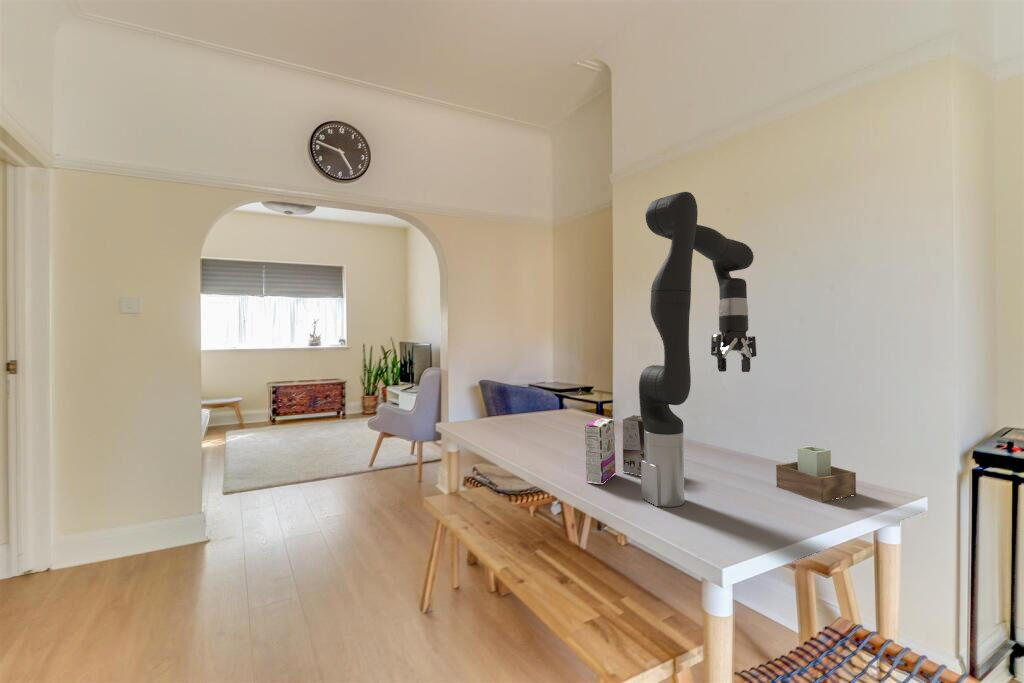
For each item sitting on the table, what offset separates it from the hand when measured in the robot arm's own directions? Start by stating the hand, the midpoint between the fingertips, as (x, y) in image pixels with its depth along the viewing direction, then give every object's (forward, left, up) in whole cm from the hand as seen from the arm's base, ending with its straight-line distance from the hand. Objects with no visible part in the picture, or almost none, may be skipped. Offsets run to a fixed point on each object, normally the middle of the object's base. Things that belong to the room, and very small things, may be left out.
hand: (734, 371), depth 125 cm
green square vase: (+9, -16, -29) cm, 35 cm away
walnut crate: (+9, -16, -30) cm, 35 cm away
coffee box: (-22, +15, -30) cm, 40 cm away
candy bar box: (-36, +13, -30) cm, 49 cm away
